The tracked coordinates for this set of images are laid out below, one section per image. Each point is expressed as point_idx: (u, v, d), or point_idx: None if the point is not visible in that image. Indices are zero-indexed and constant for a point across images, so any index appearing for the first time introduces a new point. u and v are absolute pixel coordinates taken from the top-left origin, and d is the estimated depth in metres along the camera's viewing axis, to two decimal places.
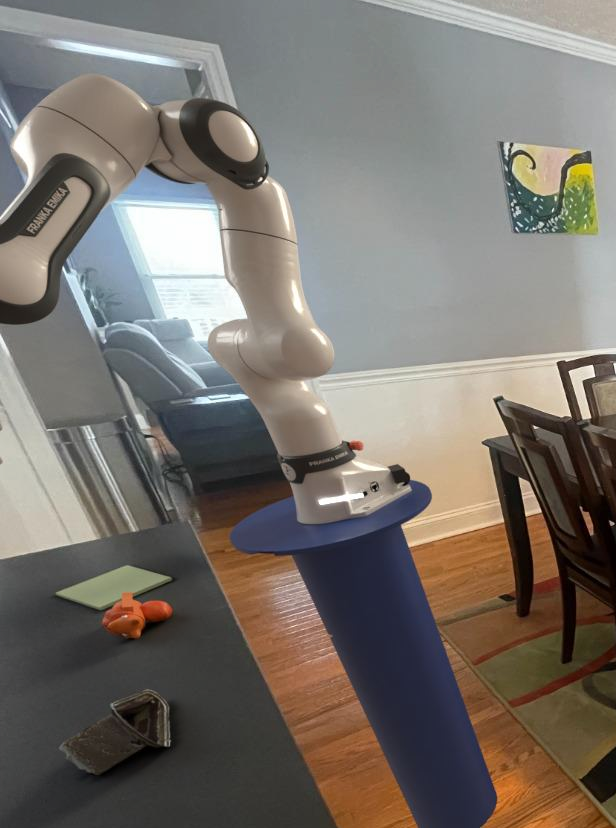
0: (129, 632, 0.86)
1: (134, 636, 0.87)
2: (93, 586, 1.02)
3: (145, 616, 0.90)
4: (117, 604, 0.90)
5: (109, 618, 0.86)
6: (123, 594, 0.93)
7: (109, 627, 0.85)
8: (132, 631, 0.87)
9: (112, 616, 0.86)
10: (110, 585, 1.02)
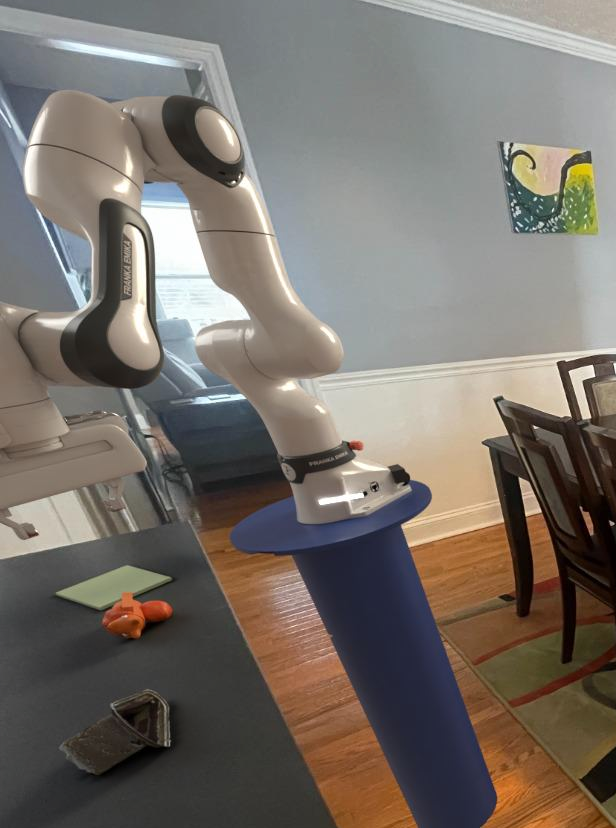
0: (129, 632, 0.86)
1: (134, 636, 0.87)
2: (93, 586, 1.02)
3: (145, 616, 0.90)
4: (117, 604, 0.90)
5: (109, 618, 0.86)
6: (123, 594, 0.93)
7: (109, 627, 0.85)
8: (132, 631, 0.87)
9: (112, 616, 0.86)
10: (110, 585, 1.02)
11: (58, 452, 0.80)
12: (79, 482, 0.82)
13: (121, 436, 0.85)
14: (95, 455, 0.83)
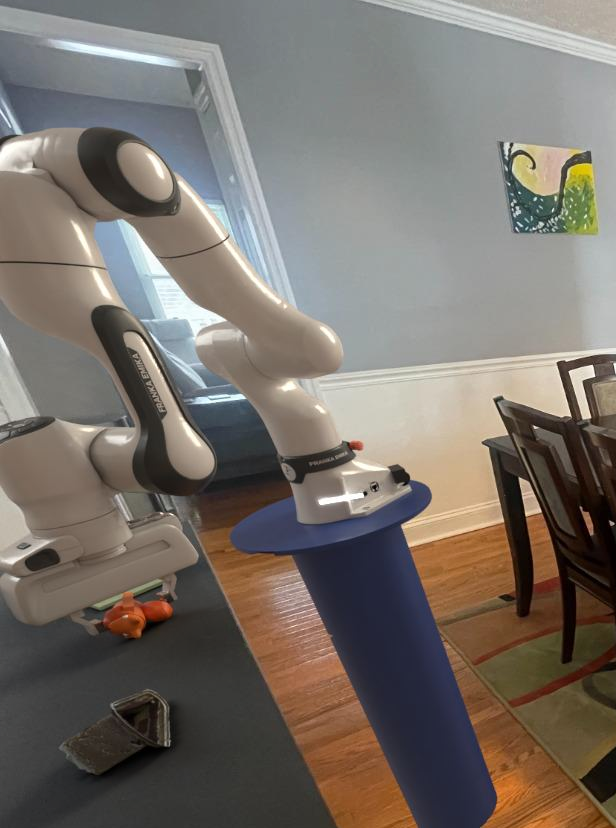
0: (129, 632, 0.87)
1: (135, 636, 0.87)
2: None
3: (146, 616, 0.90)
4: (118, 604, 0.90)
5: (110, 617, 0.86)
6: (124, 594, 0.93)
7: (110, 627, 0.85)
8: (133, 631, 0.87)
9: (113, 616, 0.86)
10: None
11: (122, 555, 0.87)
12: (140, 580, 0.89)
13: (177, 535, 0.92)
14: (154, 555, 0.90)
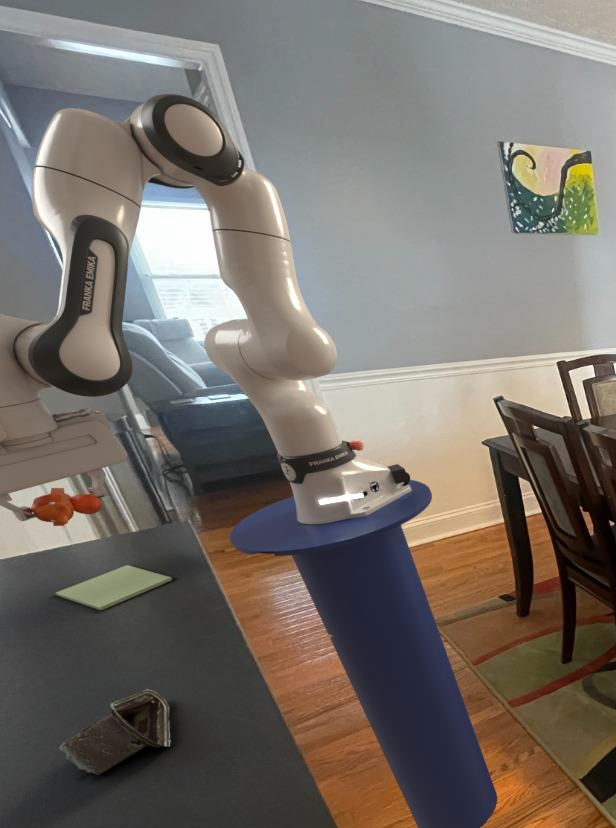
0: (56, 518, 0.91)
1: (62, 522, 0.92)
2: (93, 586, 1.02)
3: (74, 507, 0.95)
4: None
5: (37, 504, 0.91)
6: None
7: (37, 512, 0.90)
8: (60, 517, 0.92)
9: (40, 502, 0.91)
10: (110, 585, 1.02)
11: (48, 445, 0.91)
12: (67, 472, 0.94)
13: (104, 432, 0.97)
14: (81, 448, 0.95)
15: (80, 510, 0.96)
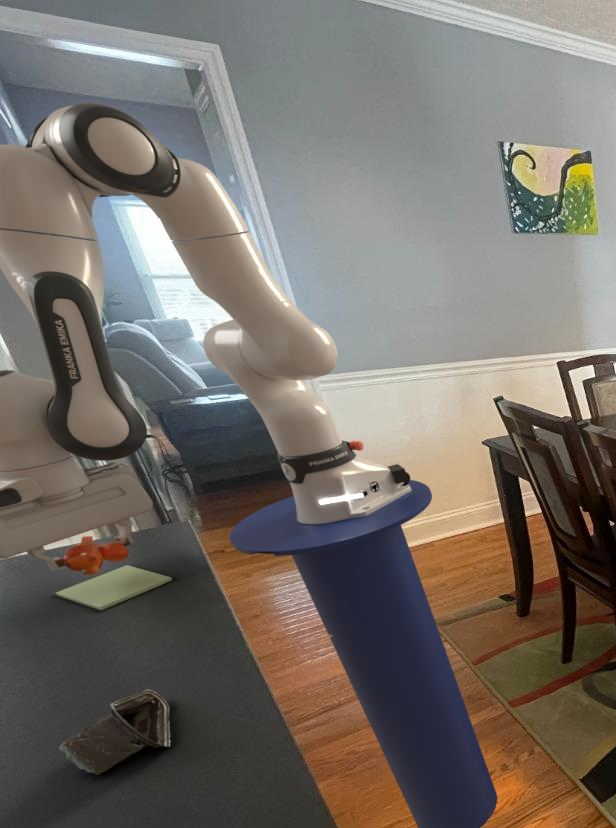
0: (87, 568, 0.96)
1: (92, 572, 0.96)
2: (93, 586, 1.02)
3: (103, 556, 0.99)
4: (77, 545, 0.99)
5: (69, 555, 0.96)
6: (84, 537, 1.02)
7: (69, 563, 0.95)
8: (90, 567, 0.96)
9: (72, 553, 0.96)
10: (110, 585, 1.02)
11: (80, 499, 0.96)
12: (97, 523, 0.98)
13: (131, 483, 1.01)
14: (110, 500, 0.99)
15: (108, 559, 1.00)
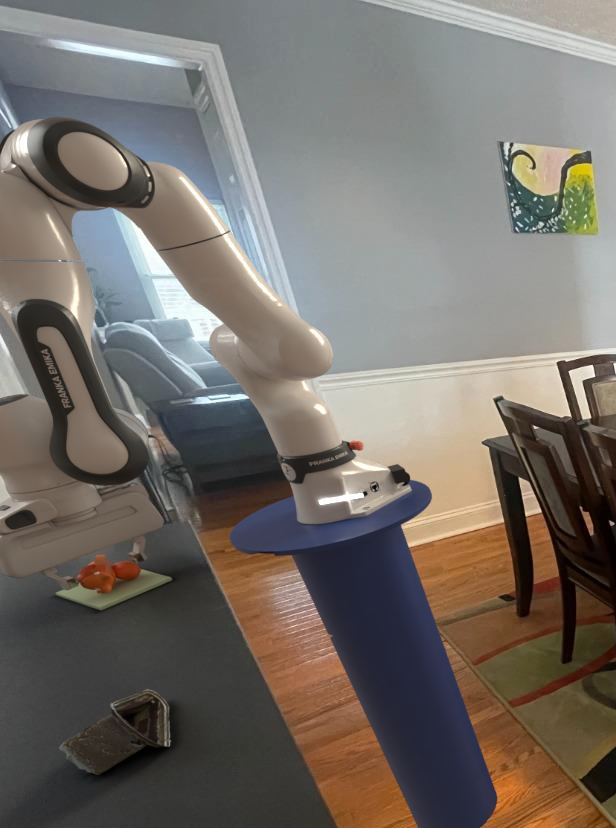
0: (101, 587, 0.98)
1: (105, 590, 0.98)
2: None
3: (116, 574, 1.01)
4: (91, 563, 1.01)
5: (83, 574, 0.97)
6: (96, 556, 1.04)
7: (83, 582, 0.97)
8: (104, 586, 0.98)
9: (86, 572, 0.97)
10: None
11: (93, 518, 0.98)
12: (110, 541, 1.00)
13: (143, 501, 1.03)
14: (122, 519, 1.01)
15: (121, 577, 1.02)
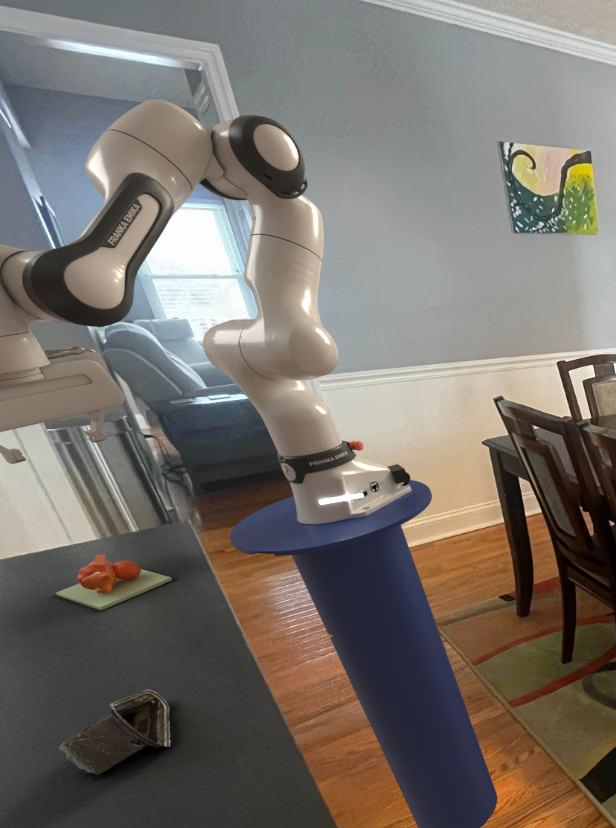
0: (101, 587, 0.98)
1: (106, 590, 0.98)
2: None
3: (116, 574, 1.01)
4: (91, 563, 1.01)
5: (83, 574, 0.97)
6: (97, 556, 1.04)
7: (83, 582, 0.97)
8: (104, 586, 0.98)
9: (86, 572, 0.97)
10: None
11: (40, 383, 0.86)
12: (61, 412, 0.88)
13: (99, 371, 0.91)
14: (75, 388, 0.89)
15: (121, 577, 1.02)
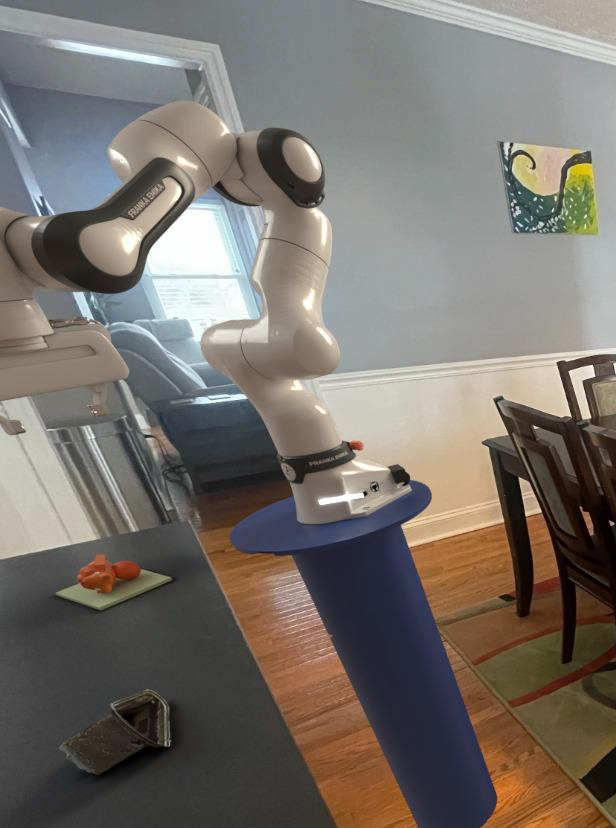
0: (101, 587, 0.98)
1: (106, 590, 0.98)
2: None
3: (116, 574, 1.01)
4: (91, 563, 1.01)
5: (83, 574, 0.97)
6: (97, 556, 1.04)
7: (83, 582, 0.97)
8: (104, 586, 0.98)
9: (86, 572, 0.97)
10: None
11: (43, 352, 0.84)
12: (64, 383, 0.86)
13: (104, 343, 0.89)
14: (79, 359, 0.87)
15: (121, 577, 1.02)
